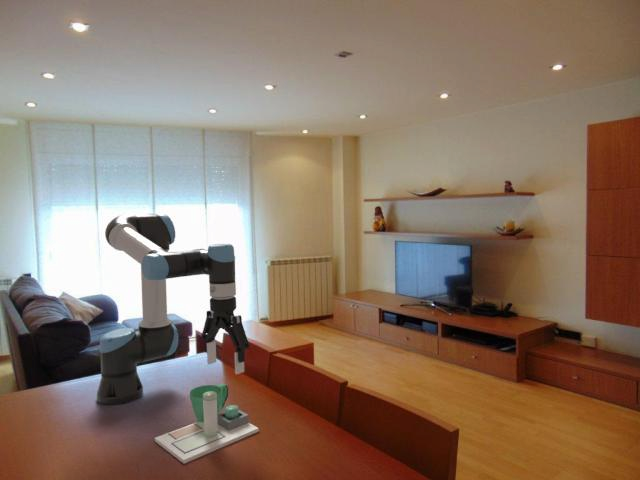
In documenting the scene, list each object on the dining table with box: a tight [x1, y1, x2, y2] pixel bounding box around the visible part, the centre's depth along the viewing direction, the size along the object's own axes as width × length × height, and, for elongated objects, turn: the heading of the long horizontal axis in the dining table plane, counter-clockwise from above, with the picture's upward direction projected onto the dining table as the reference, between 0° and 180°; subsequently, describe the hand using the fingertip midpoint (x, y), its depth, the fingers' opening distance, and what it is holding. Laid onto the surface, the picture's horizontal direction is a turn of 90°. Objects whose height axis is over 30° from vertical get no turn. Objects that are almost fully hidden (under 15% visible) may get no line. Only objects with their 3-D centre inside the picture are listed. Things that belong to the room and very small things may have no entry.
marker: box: [203, 391, 218, 437], centre depth 133 cm, size 4×4×12 cm
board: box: [154, 409, 260, 464], centre depth 134 cm, size 17×24×4 cm
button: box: [224, 404, 240, 420], centre depth 140 cm, size 4×4×3 cm
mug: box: [189, 383, 229, 422], centre depth 146 cm, size 15×10×10 cm
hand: (225, 367), depth 137 cm, fingers open, 13 cm apart
